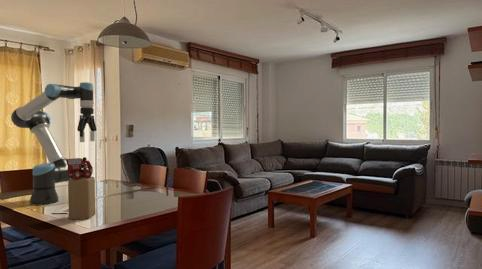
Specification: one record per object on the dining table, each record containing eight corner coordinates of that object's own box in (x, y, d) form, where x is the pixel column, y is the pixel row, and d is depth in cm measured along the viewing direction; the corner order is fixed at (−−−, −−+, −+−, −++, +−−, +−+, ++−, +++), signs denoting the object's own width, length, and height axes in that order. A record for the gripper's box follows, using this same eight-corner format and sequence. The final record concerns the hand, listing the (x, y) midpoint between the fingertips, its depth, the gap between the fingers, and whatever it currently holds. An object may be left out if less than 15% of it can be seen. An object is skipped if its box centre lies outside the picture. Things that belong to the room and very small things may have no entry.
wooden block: (76, 214, 176) (75, 176, 175) (96, 214, 176) (95, 176, 176) (68, 220, 166) (67, 179, 165) (89, 219, 167) (88, 179, 166)
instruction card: (51, 214, 178) (51, 213, 178) (69, 206, 196) (69, 205, 196) (75, 213, 178) (75, 212, 178) (91, 205, 196) (91, 205, 196)
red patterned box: (95, 177, 172) (95, 157, 172) (70, 180, 163) (69, 158, 163) (89, 176, 177) (89, 156, 177) (64, 179, 168) (64, 158, 168)
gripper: (83, 106, 197) (83, 142, 197) (101, 108, 222) (102, 140, 222) (70, 106, 197) (71, 142, 198) (90, 108, 222) (90, 140, 222)
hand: (87, 141), depth 210 cm, fingers open, 13 cm apart
